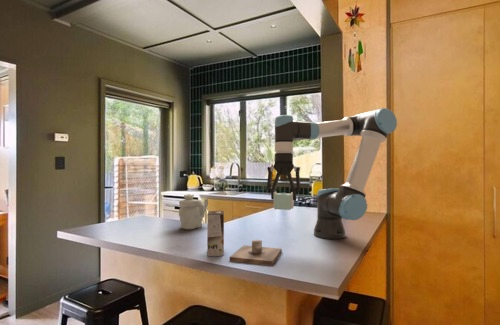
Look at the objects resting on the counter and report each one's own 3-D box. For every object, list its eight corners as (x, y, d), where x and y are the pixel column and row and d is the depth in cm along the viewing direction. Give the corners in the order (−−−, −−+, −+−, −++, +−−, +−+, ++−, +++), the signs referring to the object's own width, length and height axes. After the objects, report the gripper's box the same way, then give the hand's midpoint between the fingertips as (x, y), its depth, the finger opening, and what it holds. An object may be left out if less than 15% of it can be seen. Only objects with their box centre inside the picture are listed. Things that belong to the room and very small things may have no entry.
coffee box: (223, 256, 115) (223, 214, 115) (206, 256, 114) (207, 214, 114) (223, 249, 124) (223, 210, 124) (208, 249, 123) (208, 210, 123)
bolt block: (281, 252, 119) (281, 237, 119) (272, 265, 104) (272, 248, 104) (243, 249, 124) (243, 234, 124) (229, 261, 109) (229, 244, 109)
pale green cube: (292, 207, 127) (292, 192, 127) (289, 209, 120) (290, 194, 121) (277, 207, 129) (277, 192, 129) (274, 209, 122) (274, 193, 123)
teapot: (207, 223, 176) (207, 192, 176) (209, 229, 161) (209, 194, 161) (178, 225, 172) (178, 192, 172) (178, 230, 158) (178, 195, 158)
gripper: (308, 152, 125) (308, 207, 125) (263, 153, 131) (263, 205, 131) (306, 152, 118) (306, 210, 118) (258, 152, 124) (258, 207, 124)
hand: (283, 207), depth 125 cm, fingers closed on pale green cube, 6 cm apart
